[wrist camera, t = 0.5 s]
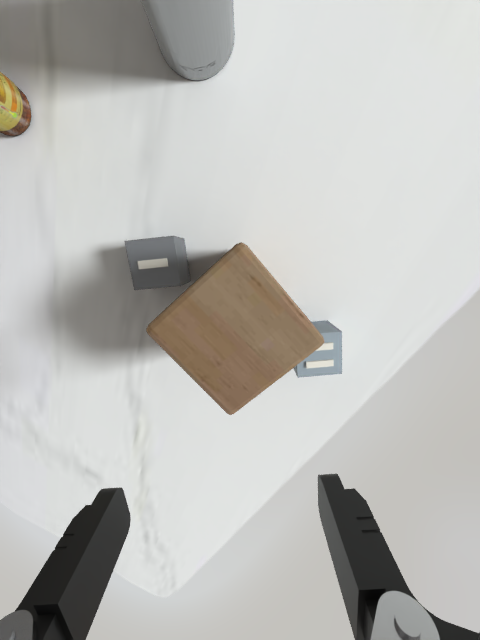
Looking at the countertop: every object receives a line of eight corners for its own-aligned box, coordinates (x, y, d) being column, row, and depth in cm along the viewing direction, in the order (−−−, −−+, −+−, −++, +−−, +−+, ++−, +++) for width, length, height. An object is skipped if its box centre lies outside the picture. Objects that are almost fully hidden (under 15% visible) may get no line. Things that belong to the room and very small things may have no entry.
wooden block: (236, 341, 41) (229, 419, 21) (192, 293, 39) (141, 330, 19) (286, 299, 39) (329, 343, 20) (242, 247, 37) (241, 238, 18)
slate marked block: (287, 324, 40) (296, 336, 34) (327, 320, 40) (342, 332, 34) (290, 360, 41) (298, 378, 35) (327, 356, 41) (342, 374, 35)
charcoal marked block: (143, 243, 37) (123, 240, 31) (184, 238, 37) (172, 235, 31) (150, 284, 39) (133, 290, 33) (190, 280, 39) (180, 285, 32)
